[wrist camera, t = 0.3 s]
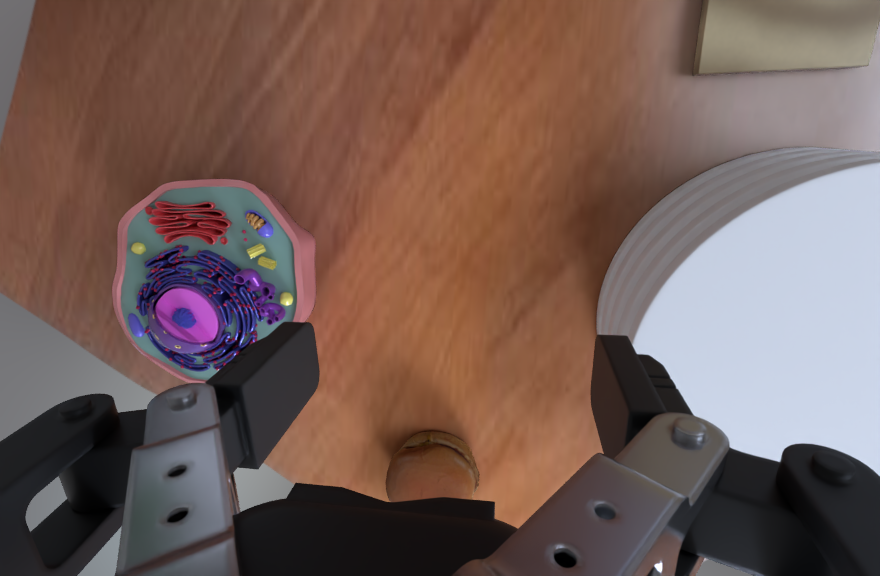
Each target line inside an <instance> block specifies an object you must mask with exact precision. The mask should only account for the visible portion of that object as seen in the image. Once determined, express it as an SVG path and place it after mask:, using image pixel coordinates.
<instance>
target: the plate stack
mask: <svg viewBox="0 0 880 576" xmlns="http://www.w3.org/2000/svg"><path fill="white" fill-rule="evenodd" d="M596 328H597V335H598V334H600V335H625V336H628V338H629V340H630V342H631V344H632V345H633V347H634V349H635V351H636V353H637V354H645V355H650V356H651V357H653V358H654V359H655V360H657V361H658V362H660V363H661V364H662V365H664V367H665V369H666V370H667V372H668V374H669V375H670V379H672V380H673V382H674V384H675V385H676V389H678V390H679V392H680V393H681V395H682V397H683V398H684V400H685V402H686V403H687V405H688V407H689V408H690V410H691V411H692V413H693V415H694V416H696V417H699V418H702V419H704V420H707V421H709V422H710V423H712V424H714V425H715V426H717V427H718V428H719V429H721V430H722V431H723V432H724V433H725V435H726V436H727V438H728V439H729V443H730V448H732V449H735V450H738V451H740V452H744V453H747V454H751V455H755V456H759V457H762V458H766V459H770V460H774V461H778V462H780V460H781V456H782V452H783V451H784V449H785V448H786V447H788V446H790V445H793V444H801V443H805V444H815V445H820V446H825V447H828V448H832V449H835V450H838V451H840V452H843V453H845V454H848V455H850V456H852V457H854V458H856V459H858V460H859V461H861V462H863V463H864V464H866V465H867V466H868V467H870V468H871V469H872V470H874V471H875V472H876V473H877V474H878V475H879V476H880V152H872V151H859V150H846V149H833V148H819V147H798V148H785V149H777V150H770V151H765V152H760V153H756V154H752V155H748V156H745V157H741V158H738V159H735V160H732V161H729V162H727V163H724V164H721V165H719V166H717V167H714V168H712V169H710V170H708V171H706V172H704V173H702V174H700V175H698V176H696V177H694V178H693V179H691V180H689V181H687V182H686V183H684V184H683V185H681V186H680V187H678V188H677V189H675V190H674V191H672V192H671V193H670V194H668V195H667V196H666V197H664V198H663V199H662V200H661V201H660V202H658V203H657V204H656V205H655V206H654V207H653V208H652V209H651V210H649V211H648V212H647V213H646V214H645V215H644V216H643V218H642V219H641V220H640V221H639V222H638V223H637V224H636V225H635V227H634V228H633V229H632V230H631V232H630V233H629V234H628V235H627V237H626V238H625V240H624V241H623V243H622V244H621V246H620V247H619V249H618V250H617V252H616V254H615V256H614V258H613V260H612V262H611V264H610V266H609V268H608V270H607V273H606V275H605V278H604V281H603V284H602V287H601V291H600V296H599V300H598V307H597V319H596Z"/></svg>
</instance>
